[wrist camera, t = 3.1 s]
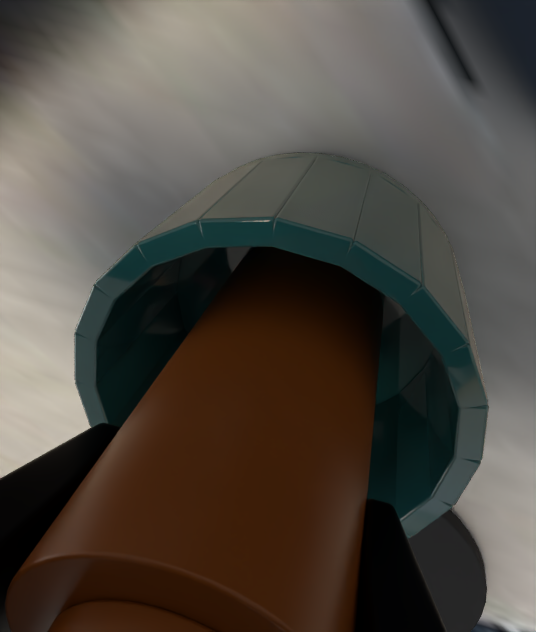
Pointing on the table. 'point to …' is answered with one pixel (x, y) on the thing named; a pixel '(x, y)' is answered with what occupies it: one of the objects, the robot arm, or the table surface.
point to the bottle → (229, 473)
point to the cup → (328, 246)
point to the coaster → (452, 571)
